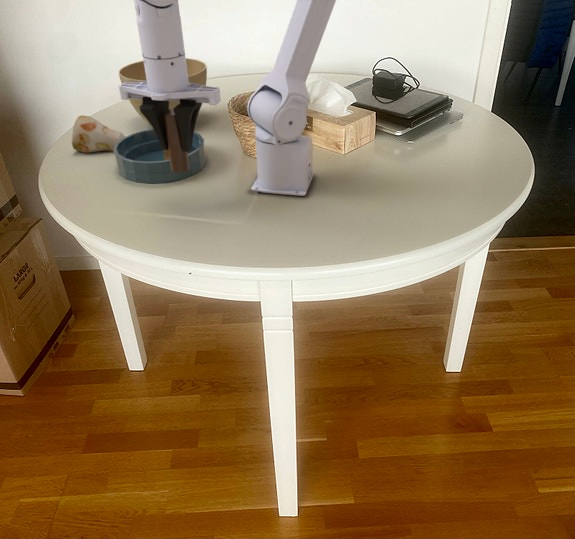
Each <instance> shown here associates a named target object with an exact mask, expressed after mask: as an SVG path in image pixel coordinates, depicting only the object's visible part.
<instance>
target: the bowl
mask: <svg viewBox="0 0 575 539" xmlns="http://www.w3.org/2000/svg"><path fill="white" fill-rule="evenodd" d="M190 151H191V153H189V154H188V160H189V170H188V171H187V172H184V173H174V172H172V171H171V165H170V160H165V158H164V152H163V149H162V146H161V144H160V141H159V139H158V137H157V135H156V133H155V131H154V129H153V128H151V129H144V130H141V131H137V132H134V133H130V134H128V135H127V136H126V135H125V137H124V138H122V139H121V140H120V141H118V142H117V143H116V144H115V146H114V149H113V151H112V152H113V156H114V160H115V164H116V169H117V172H118V174H119V175H120V176H121V177H123V178H124V179H125V180H127V181H130V182H131V181H132V182H135V183H140V184H141V183H142V184H166V183H172V182H177V181H181V180H184V179H187V178H189V177H192V176H194V175H195V174H197V173H198V172H200V171H202V170H203V168H204V167H205V166H206V165H207V154H206V145H205V138H204V137H203V136H202V135H201V134H200V133H198V132H196V131H194V134H193V146H192V148H191V149H190Z"/></svg>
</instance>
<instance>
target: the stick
mask: <svg viewBox="0 0 575 539" xmlns="http://www.w3.org/2000/svg"><path fill="white" fill-rule="evenodd" d="M163 120H164V126H165V133H166V139H167V146H168V152H169V158H170V165H171V171H172V172H174V173H184V172H187V171H188V170H189V160H188V153H187V152H183V148H182V143H181V134H180V129H179V125H178V122H177V119H176V116H175V113H174V110H173V109H169V110H165V111H164V112H163Z"/></svg>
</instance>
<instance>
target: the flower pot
mask: <svg viewBox="0 0 575 539" xmlns="http://www.w3.org/2000/svg"><path fill="white" fill-rule="evenodd" d="M186 65H187V73H188V81H189V83H194V84H199V85H204V86H207V76H208V67H207V64H206V63H205V62H204V61H202V60H199V59H194V58H188V57H186ZM118 77H119V80H120V83H121V84H123V83H125V82H147V79H146V73H145V67H144V61H143V60H140V61H136V62H133V63H129V64H127V65H124V66H123V67H121V68H120V69H119V70H118ZM128 101H129V103H130V104H131V106H132V107H133V109H134V110H135V111H136V113H137V114H138V115H139V116H140V117H141V118H142V119H143V120H144V121H145V123H147V124H148V125H149V126H150V127H152V126H151V124H150V123H149V121H148V120H147V119H146V117H145V116H144V115H143V114H142V113H141V111H140V106H141V105H142V102H143V100H142V99H132V98H130V99H128ZM178 104H180V101H169V109H173V108H175V107H176V106H177V105H178Z"/></svg>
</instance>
